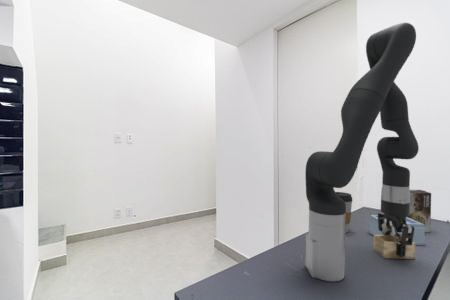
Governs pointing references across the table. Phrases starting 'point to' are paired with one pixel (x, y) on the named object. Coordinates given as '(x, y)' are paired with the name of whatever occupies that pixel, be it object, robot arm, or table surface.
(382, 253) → the small crate
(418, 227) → the base crate
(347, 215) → the coffee cup
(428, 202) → the coffee box
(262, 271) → the table surface
